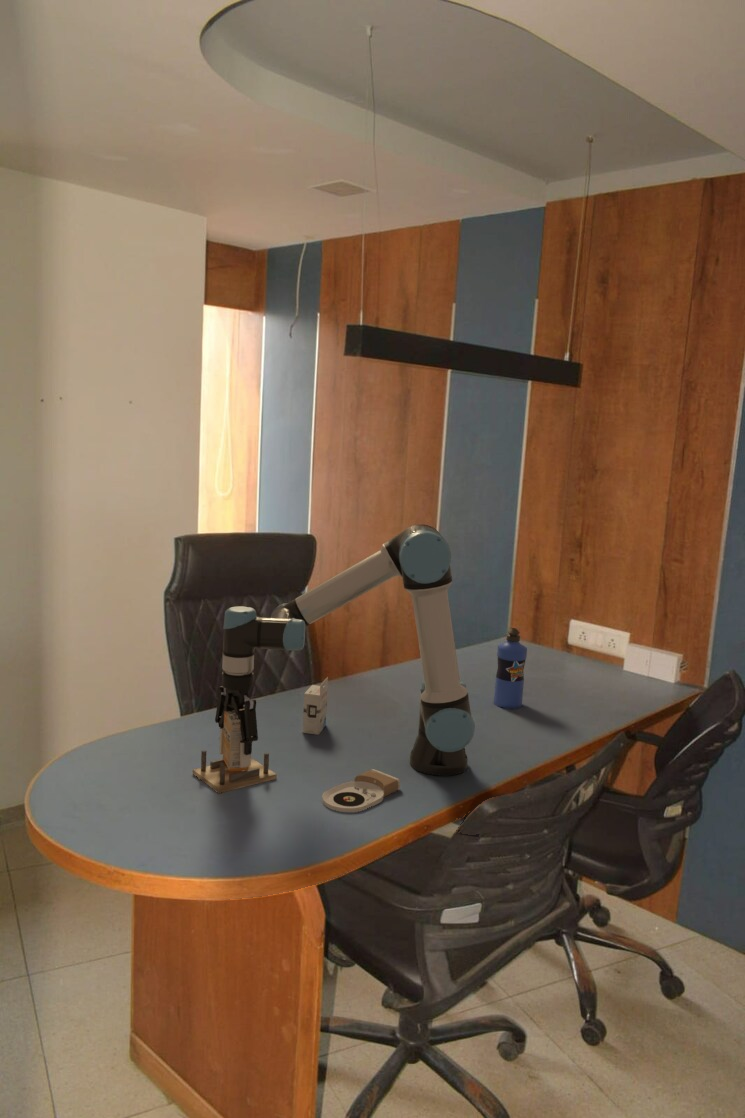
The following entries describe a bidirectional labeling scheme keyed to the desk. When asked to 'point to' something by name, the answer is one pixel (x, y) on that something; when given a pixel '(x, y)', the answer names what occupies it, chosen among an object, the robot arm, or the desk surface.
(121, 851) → the desk surface
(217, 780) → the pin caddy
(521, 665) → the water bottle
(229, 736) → the supplement box
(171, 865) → the desk surface
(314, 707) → the ink box
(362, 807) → the record player
